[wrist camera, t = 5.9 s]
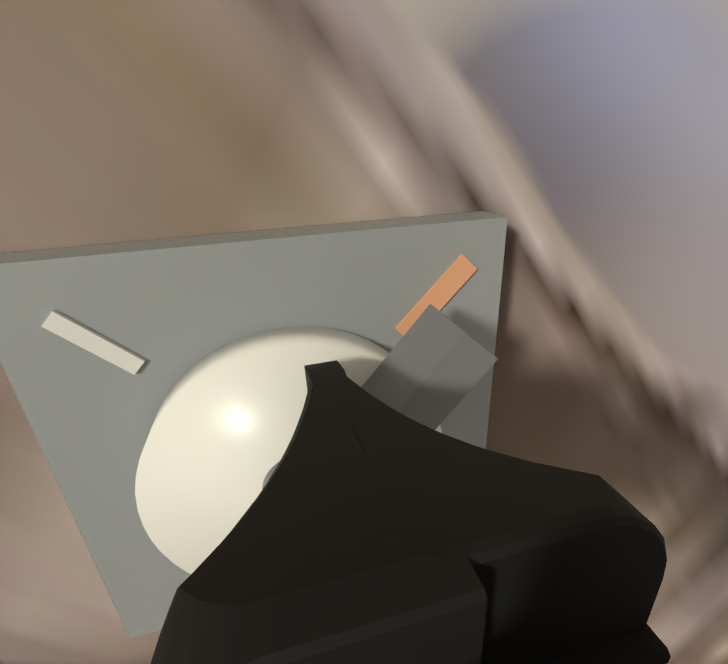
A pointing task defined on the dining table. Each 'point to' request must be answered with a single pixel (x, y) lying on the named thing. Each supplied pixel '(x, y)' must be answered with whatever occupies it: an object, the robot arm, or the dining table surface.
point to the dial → (278, 418)
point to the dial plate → (212, 346)
